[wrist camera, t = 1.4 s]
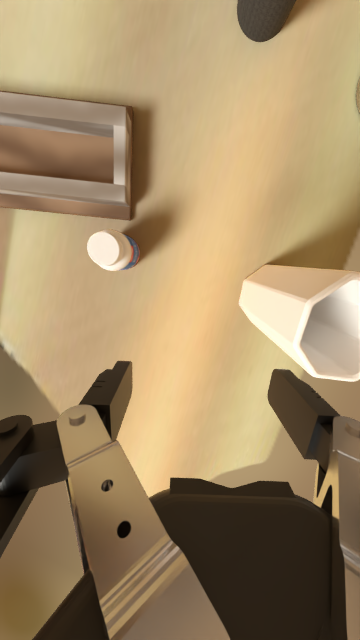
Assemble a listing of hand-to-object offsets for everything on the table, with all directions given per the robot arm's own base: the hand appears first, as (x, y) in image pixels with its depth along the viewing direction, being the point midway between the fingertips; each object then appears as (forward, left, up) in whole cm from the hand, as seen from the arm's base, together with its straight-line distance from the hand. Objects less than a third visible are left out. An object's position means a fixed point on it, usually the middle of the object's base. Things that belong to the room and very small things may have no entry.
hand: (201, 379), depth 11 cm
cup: (-2, +15, -26) cm, 30 cm away
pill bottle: (-7, -11, -26) cm, 29 cm away
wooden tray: (-19, -22, -26) cm, 39 cm away
